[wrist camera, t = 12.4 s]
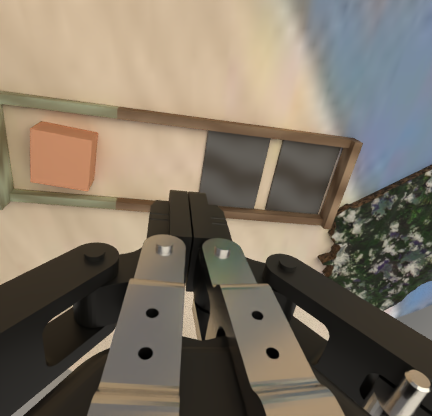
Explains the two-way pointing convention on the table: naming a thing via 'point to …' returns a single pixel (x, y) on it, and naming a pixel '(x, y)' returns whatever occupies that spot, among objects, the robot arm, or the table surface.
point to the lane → (217, 166)
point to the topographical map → (384, 242)
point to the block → (62, 156)
